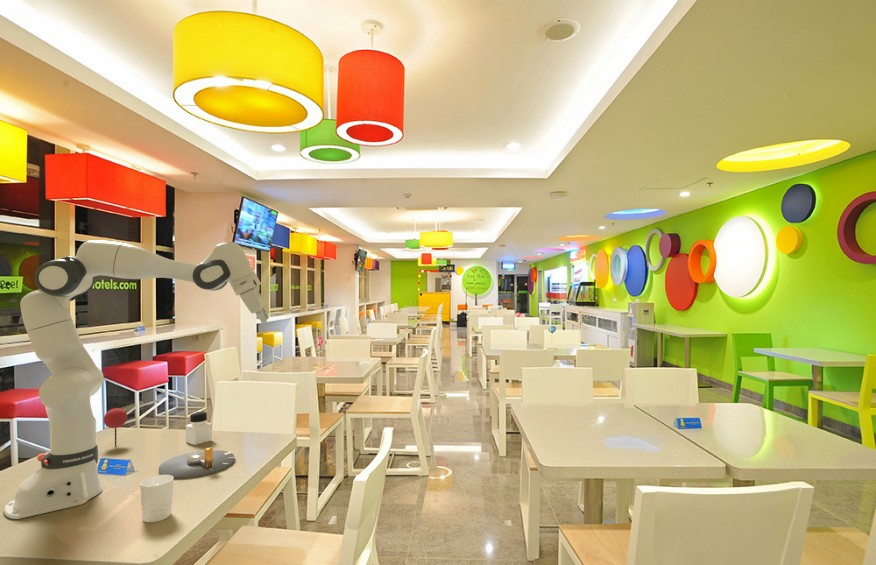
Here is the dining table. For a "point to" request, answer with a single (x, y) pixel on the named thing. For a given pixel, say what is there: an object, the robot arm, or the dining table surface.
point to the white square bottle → (198, 429)
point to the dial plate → (183, 470)
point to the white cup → (156, 497)
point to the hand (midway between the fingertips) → (265, 321)
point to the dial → (201, 458)
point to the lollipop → (115, 419)
